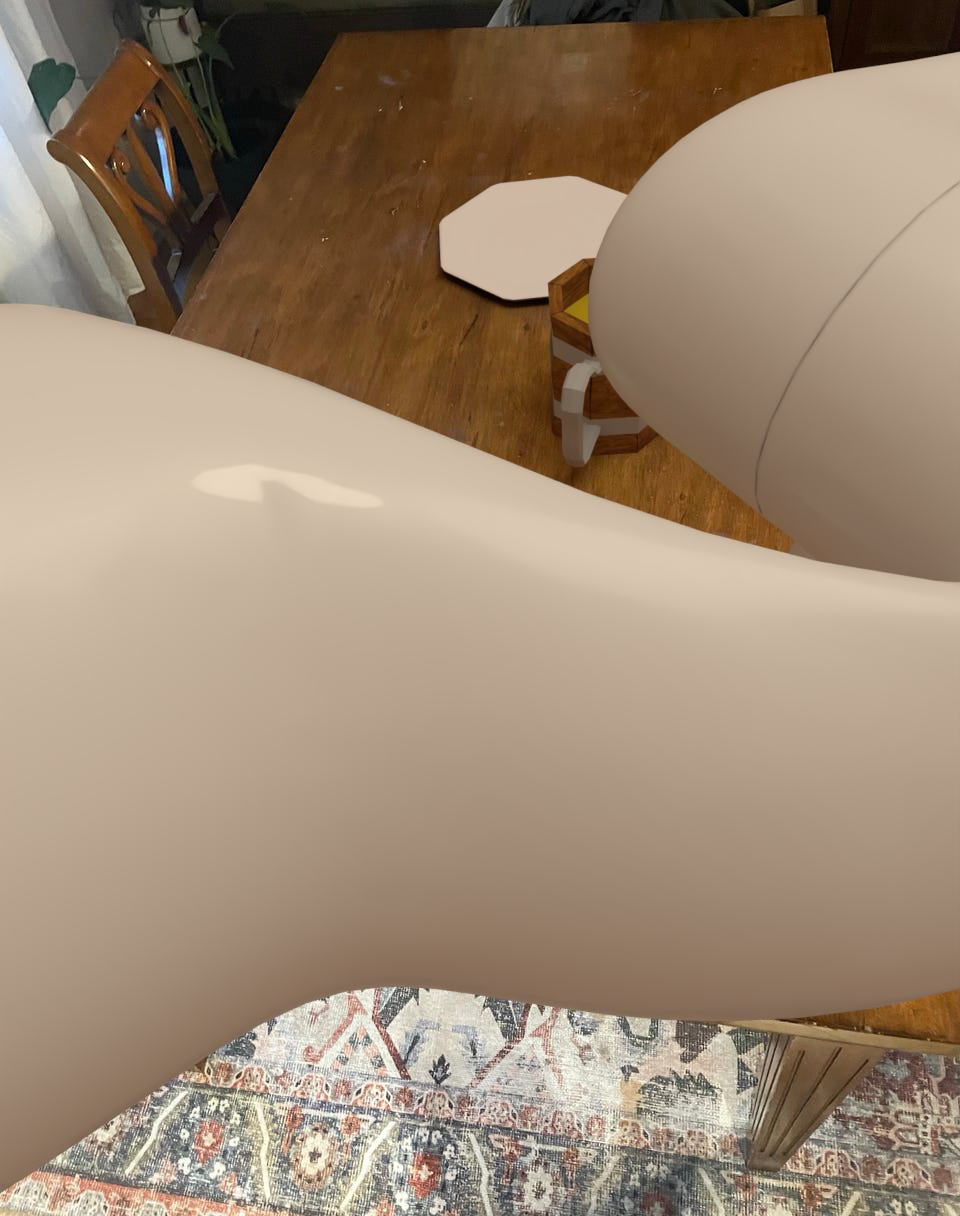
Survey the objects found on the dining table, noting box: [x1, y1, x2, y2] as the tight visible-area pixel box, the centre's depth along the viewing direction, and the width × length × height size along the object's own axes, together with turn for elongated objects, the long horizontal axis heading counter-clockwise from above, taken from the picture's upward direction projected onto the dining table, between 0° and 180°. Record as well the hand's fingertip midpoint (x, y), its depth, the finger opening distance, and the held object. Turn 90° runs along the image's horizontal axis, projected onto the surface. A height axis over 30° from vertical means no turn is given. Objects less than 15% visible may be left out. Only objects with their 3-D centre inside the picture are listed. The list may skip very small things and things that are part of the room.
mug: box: [548, 258, 660, 468], centre depth 86 cm, size 20×14×15 cm
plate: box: [438, 175, 628, 302], centre depth 113 cm, size 28×28×2 cm
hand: (824, 745), depth 39 cm, fingers open, 9 cm apart
